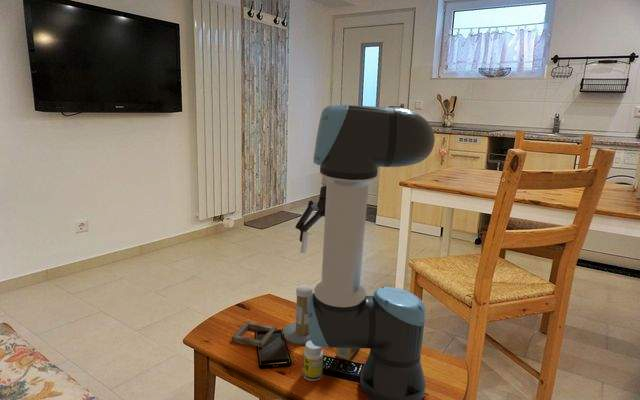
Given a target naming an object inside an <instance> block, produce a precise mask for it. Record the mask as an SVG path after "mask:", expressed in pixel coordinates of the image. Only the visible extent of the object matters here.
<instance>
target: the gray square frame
mask: <svg viewBox="0 0 640 400" xmlns="http://www.w3.org/2000/svg"><path fill="white" fill-rule="evenodd" d="M249 329H251V330H256V331H259V332H260V331H261V332H264V331H269V332H266V334H264V335H263V337H262V339H261V340H260V339H256V338H251V337H246V336H244V335H245V333H246V332H247V331H248V330H249ZM276 330H278V328H277V326H274V325H273V326H272V325H267V324H263V323H257V322H253V321H248V320H247V321H246V322H245V323H244V324H243V325H242V326H241V327H240V328H238V330H237V331H236V332H235V333H234V334H233V335H232V336H231V342H232V343H238V344H242V345H247V346H251V347H254V348H257V347H256V346H257V345H259V346H263V345H264V344H265V342H266V341H267V340H268V338H269V337H270V336H271V335H272V333H273V332H274V331H276Z"/></svg>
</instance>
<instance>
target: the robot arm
mask: <svg viewBox="0 0 640 400" xmlns="http://www.w3.org/2000/svg"><path fill="white" fill-rule="evenodd" d="M318 123H319V124H318V129H317V133H316V138H315V144H314V145H315V147H314V153H313V160H312V161H313V163H314V165H317V166H319V174H320V175H321V176H322V177H321V187H320V190H319V198H318V201H317V202H316V201H313V200H309V201H308V205H307V207H306V209H305V211H304V212H303V213H302V216H301V217H300V218H299V220H298V222H297V223H296V225H295V226H294V227H295V229H297V230H298V231H300V233H299V234H300V235H299V243H300V242H301V244H300V245H301V246H300V252H299V253H301V254H306V253H307V249H308V248H307V247H308V243H309V241H308V240H309V232H308V231H309V229H310V228H312V226H314V225H315V224H316V223H317V221H319V220H320V219H321V218H322V217H323V218H324V224H323V225H324V227H323V228H324V229H323V243H322V244H323V245H322V246H323V248H322V264H321V281H320V282H318V283H317V284H316V285H315V287H314V290H313V292H312V294H309V295H308V298H307V308H308V324H309V333H310V339H311V342H312V343H313V344H314V345H315V346H318V347H322V348H327V349H332V348H336V349H337V348H359V349H369V354H368V356H367V357H366V360H365V363H364V364H363V367H362V369H361V371H360V372H361V373H360V381H359V384H360V387H361V389H362V391H363V393H364V394H365V395H366V396H367V397H368V398H370V399H371V400H423V398H424V397H425V394H426V378H425V374H424V370H423V366H422V363H421V358H422V357H421V356H422V348H423V339H424V327H425V324H426V307H425V304H424V302H423V300H422V299H420V298H419V297H418V296H417V295H416V294H414V293H412V292H410V291H408V290H406V289H402V288H399V287H391V286H382V287H378V288H377V289H375V291H374V292H373V295H367V292H366V289H365V288H364V287H363V286H362V285H361V277H362V266H363V264H362V263H363V254H364V242H365V232H366V231H365V230H366V217H367V209H368V208H367V206H368V205H367V204H368V199H369V198H368V197H369V196H368V195H369V185H370V183H371V182H373V181H374V180H375V179H376V178H377V177H378V172H379V170H378V169H379V168H381V167H382V168H401V167H409V166H413V165H416V164H419V163H421V162H423V161H424V160H426V159H427V158H428V157H429V156H430V154H431V153H432V152H433V149H434V146H435V143H436V141H435V140H436V138H435V137H436V136H435V133H434V129H433V127H432V126H431V124H430V123H429V121H428V120H427V119H425V118H424V116H421V114H419V113H416V111H413V110H409V109H406V108H402V107H396V106H395V107H389V106H388V107H386V106H373V105H372V106H370V105H355V104H354V105H353V104H338V105H337V104H333V105H327V106H326V107H324V108H323V109H322V111H321V114H320V118H319V122H318ZM316 207H317V209H318V210H317V211H316V212H315V214H313V215H312V213H313V211H314V209H316ZM311 215H312V217H311V218H310V219H309V217H310V216H311ZM366 295H367V296H366Z"/></svg>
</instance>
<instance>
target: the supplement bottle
mask: <svg viewBox="0 0 640 400" xmlns="http://www.w3.org/2000/svg"><path fill="white" fill-rule="evenodd" d="M304 346H305V347H304V351H303V360H302V361H303V364H302V365H303V366H302V375H303V378H304V379H305V380H307V381H310V382H316V381H319V380H320V379H321V378H323V365H324V364H323V363H324V362H323V361H324V352H323V347H318V346H315V345H314V344H313V343H312V342H311V340H310V341H308V342H306V345H304Z"/></svg>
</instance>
